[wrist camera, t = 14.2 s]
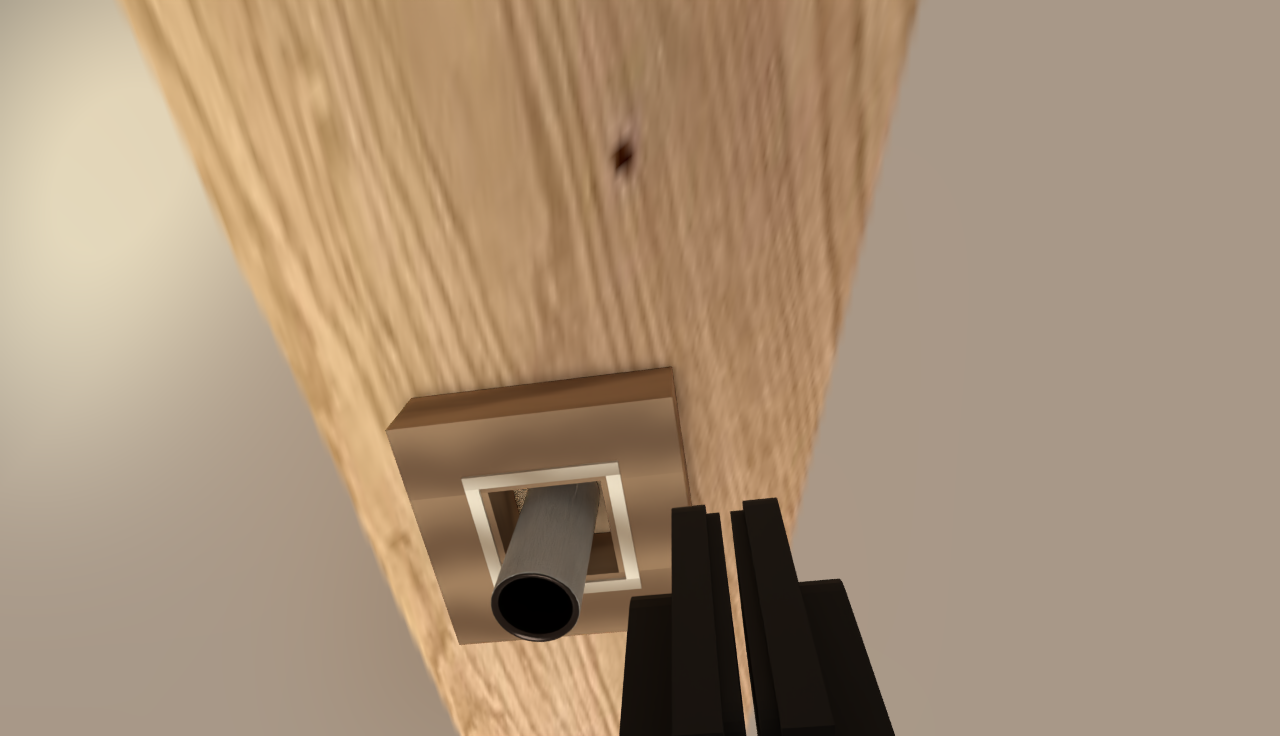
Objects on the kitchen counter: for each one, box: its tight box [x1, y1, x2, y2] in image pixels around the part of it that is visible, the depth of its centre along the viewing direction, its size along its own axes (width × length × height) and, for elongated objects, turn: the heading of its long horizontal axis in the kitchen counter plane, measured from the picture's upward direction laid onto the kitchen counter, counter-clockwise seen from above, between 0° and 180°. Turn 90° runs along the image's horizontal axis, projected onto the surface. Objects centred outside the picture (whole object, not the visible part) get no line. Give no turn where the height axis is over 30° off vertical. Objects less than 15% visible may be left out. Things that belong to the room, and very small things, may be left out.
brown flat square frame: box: [385, 367, 692, 645], centre depth 41 cm, size 16×16×4 cm
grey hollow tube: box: [491, 481, 600, 642], centre depth 38 cm, size 4×4×10 cm
